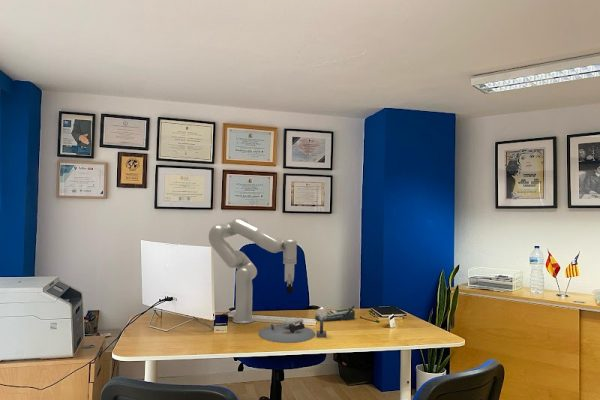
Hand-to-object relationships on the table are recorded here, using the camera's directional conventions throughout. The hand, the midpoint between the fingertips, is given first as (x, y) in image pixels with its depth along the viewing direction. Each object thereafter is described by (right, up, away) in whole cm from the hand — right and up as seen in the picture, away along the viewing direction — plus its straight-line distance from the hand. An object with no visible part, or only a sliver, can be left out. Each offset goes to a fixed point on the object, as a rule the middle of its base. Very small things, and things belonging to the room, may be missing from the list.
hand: (289, 293), depth 229 cm
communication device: (+26, -19, +14) cm, 35 cm away
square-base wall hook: (+17, -18, -20) cm, 32 cm away
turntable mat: (-1, -17, -17) cm, 24 cm away
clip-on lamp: (-1, -17, -12) cm, 21 cm away
